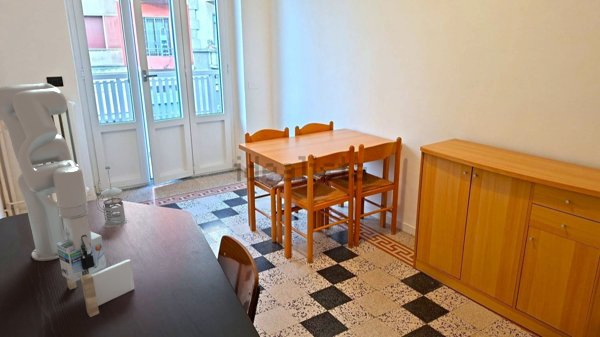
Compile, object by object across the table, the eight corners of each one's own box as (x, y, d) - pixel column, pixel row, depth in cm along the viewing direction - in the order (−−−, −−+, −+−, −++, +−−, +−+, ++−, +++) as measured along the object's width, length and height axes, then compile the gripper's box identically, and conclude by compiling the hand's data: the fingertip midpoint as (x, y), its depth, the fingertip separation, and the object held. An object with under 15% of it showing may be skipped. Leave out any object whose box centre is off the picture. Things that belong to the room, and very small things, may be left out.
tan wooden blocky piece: (67, 287, 132) (60, 253, 128) (75, 284, 134) (69, 250, 130) (90, 317, 118) (83, 280, 115) (99, 313, 120) (92, 276, 116)
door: (89, 310, 121) (83, 279, 118) (87, 308, 121) (81, 278, 118) (134, 288, 131) (130, 260, 128) (132, 287, 132) (128, 258, 128)
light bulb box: (74, 282, 122) (68, 249, 119) (61, 276, 125) (55, 243, 122) (107, 266, 131) (102, 235, 127) (94, 260, 134) (89, 229, 131)
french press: (122, 227, 172) (114, 169, 164) (94, 227, 172) (84, 169, 165) (132, 217, 182) (124, 162, 174) (105, 217, 182) (96, 162, 174)
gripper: (50, 204, 125) (61, 256, 131) (69, 222, 113) (80, 278, 119) (77, 197, 130) (86, 248, 136) (98, 214, 118) (107, 269, 124)
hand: (83, 262), depth 127 cm, fingers closed on light bulb box, 7 cm apart
